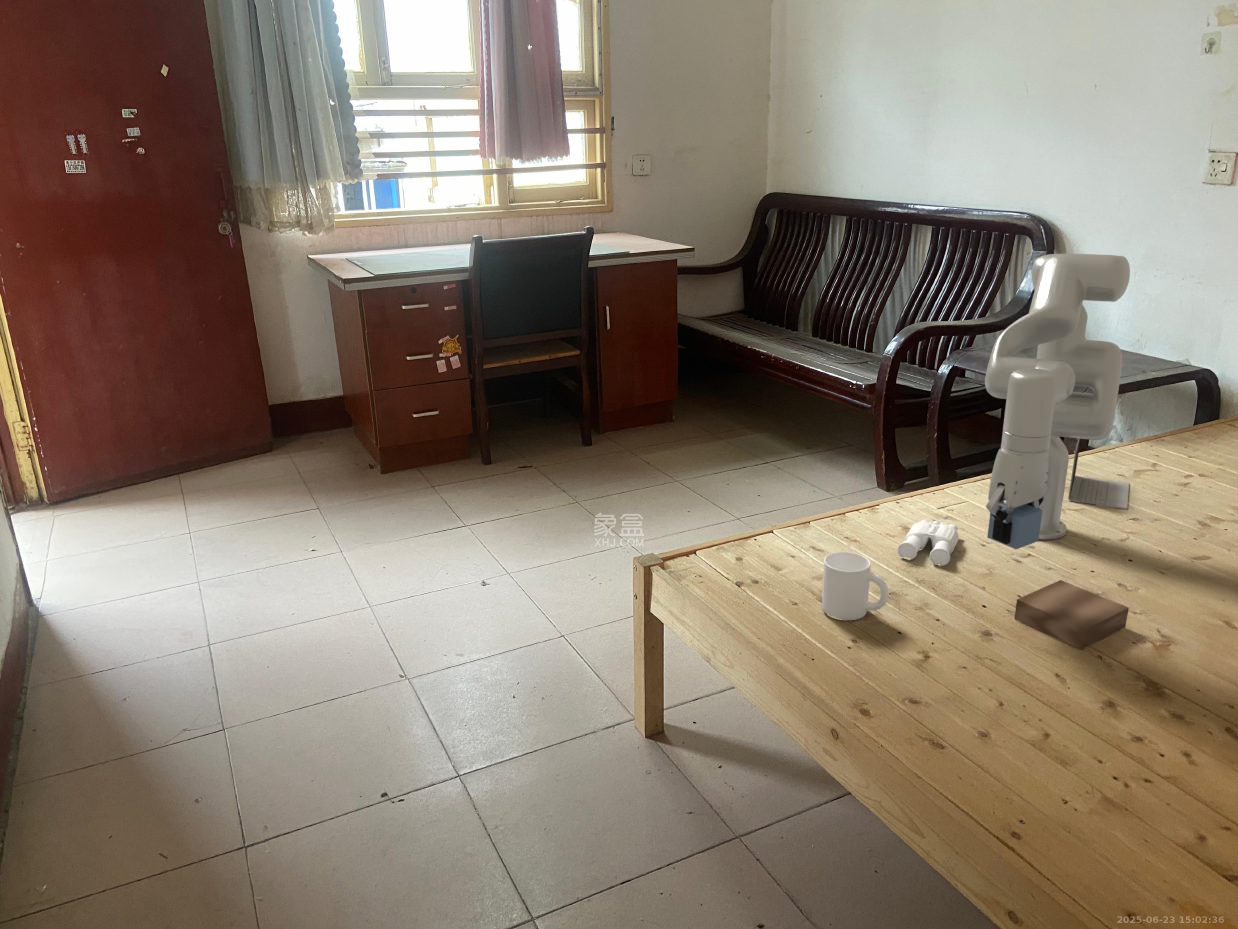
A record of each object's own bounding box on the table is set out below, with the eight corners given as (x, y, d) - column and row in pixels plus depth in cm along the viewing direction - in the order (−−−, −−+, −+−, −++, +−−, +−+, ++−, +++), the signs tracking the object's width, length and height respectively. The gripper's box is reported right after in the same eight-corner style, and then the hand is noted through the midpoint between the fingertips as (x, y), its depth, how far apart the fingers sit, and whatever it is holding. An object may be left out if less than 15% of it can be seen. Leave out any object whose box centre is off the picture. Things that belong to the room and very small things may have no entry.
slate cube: (987, 537, 163) (990, 506, 161) (1009, 529, 166) (1013, 499, 164) (1016, 549, 158) (1020, 517, 156) (1038, 541, 161) (1042, 510, 159)
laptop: (1127, 511, 209) (1136, 458, 205) (1067, 502, 215) (1074, 450, 210) (1129, 485, 224) (1137, 435, 219) (1072, 478, 230) (1080, 429, 225)
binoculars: (896, 559, 189) (897, 539, 188) (913, 531, 202) (915, 512, 201) (948, 569, 184) (950, 548, 183) (962, 539, 197) (964, 520, 196)
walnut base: (1014, 618, 164) (1016, 599, 163) (1057, 598, 171) (1060, 579, 169) (1081, 650, 154) (1085, 629, 153) (1125, 627, 160) (1128, 607, 159)
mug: (892, 612, 168) (897, 561, 165) (878, 631, 162) (882, 580, 158) (830, 596, 174) (833, 548, 171) (814, 615, 168) (817, 565, 164)
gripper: (1038, 426, 163) (1026, 518, 169) (973, 445, 154) (963, 541, 161) (1076, 437, 156) (1062, 532, 163) (1011, 457, 148) (998, 556, 155)
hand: (1013, 535), depth 162 cm, fingers closed on slate cube, 6 cm apart
